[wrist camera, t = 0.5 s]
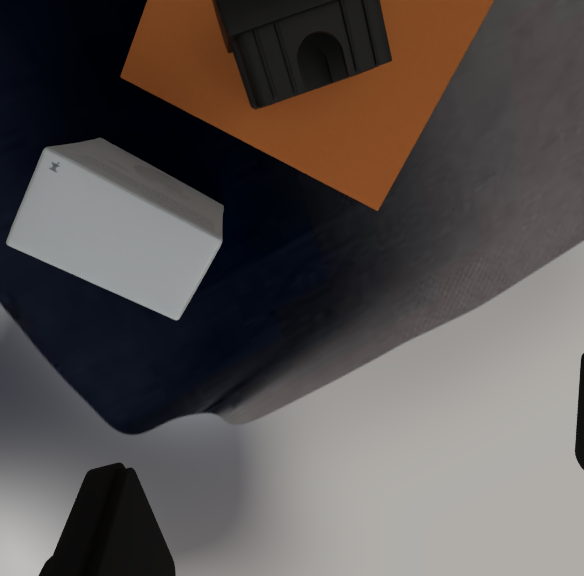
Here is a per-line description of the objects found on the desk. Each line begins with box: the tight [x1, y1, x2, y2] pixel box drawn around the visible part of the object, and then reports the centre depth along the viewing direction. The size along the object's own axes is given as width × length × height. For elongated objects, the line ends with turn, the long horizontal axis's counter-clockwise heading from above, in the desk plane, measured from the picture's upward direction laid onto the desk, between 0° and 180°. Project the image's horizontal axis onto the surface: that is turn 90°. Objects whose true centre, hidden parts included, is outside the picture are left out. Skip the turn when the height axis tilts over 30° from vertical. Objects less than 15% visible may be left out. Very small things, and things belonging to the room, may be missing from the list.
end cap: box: [212, 0, 392, 110], centre depth 28 cm, size 10×7×7 cm
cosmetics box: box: [6, 138, 224, 320], centre depth 29 cm, size 10×6×10 cm, turn 59°
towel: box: [120, 0, 494, 211], centre depth 31 cm, size 20×22×1 cm
